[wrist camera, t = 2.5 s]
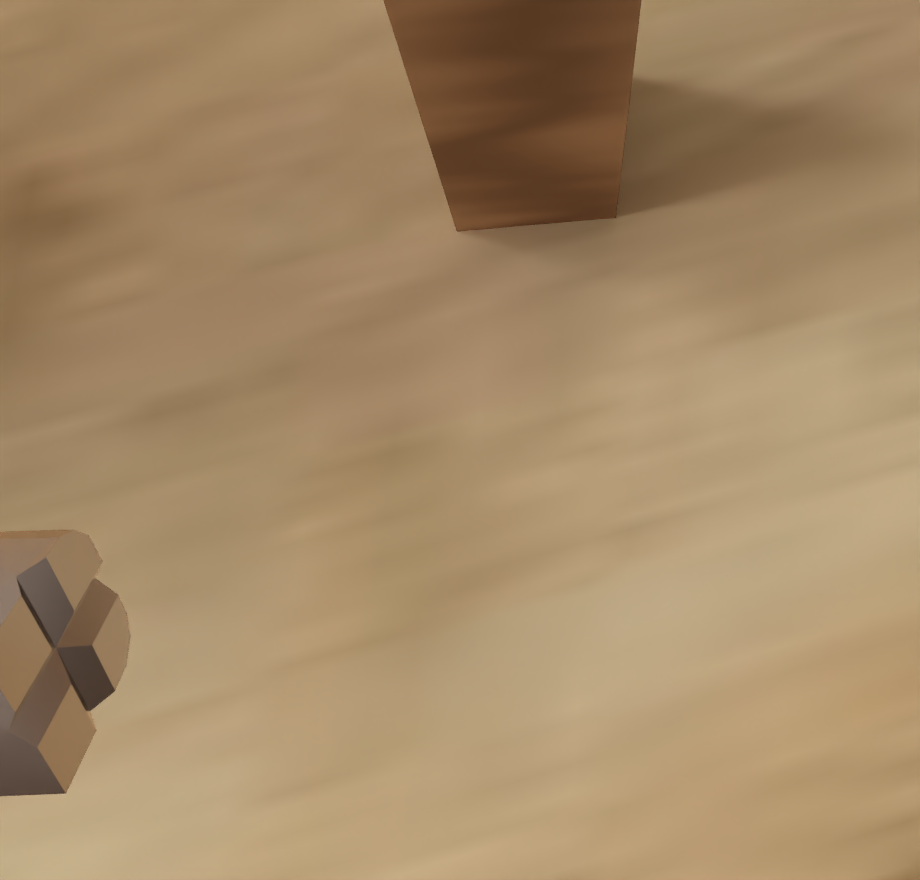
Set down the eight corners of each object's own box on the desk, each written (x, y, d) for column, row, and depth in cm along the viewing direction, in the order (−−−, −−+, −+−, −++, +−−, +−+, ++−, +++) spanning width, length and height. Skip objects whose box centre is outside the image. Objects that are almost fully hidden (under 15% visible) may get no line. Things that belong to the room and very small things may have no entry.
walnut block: (456, 231, 25) (383, -1, 15) (451, 88, 26) (378, -219, 16) (615, 217, 25) (644, -31, 15) (605, 71, 25) (626, -256, 16)
